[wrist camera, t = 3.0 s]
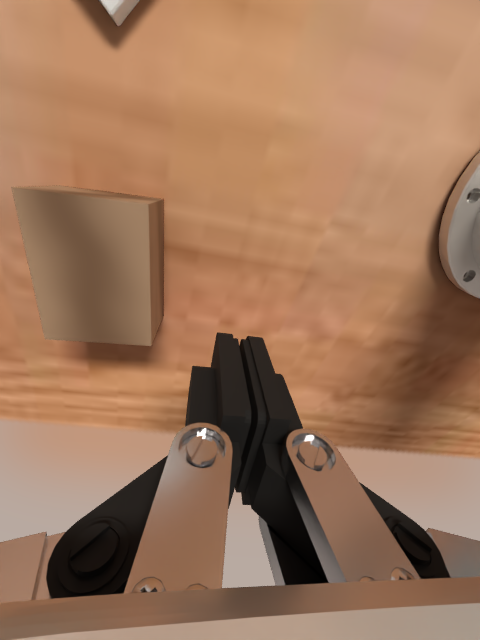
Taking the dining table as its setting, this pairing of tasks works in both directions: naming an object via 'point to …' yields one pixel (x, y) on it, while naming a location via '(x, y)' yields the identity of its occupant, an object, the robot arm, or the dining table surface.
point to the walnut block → (94, 262)
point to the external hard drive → (118, 9)
